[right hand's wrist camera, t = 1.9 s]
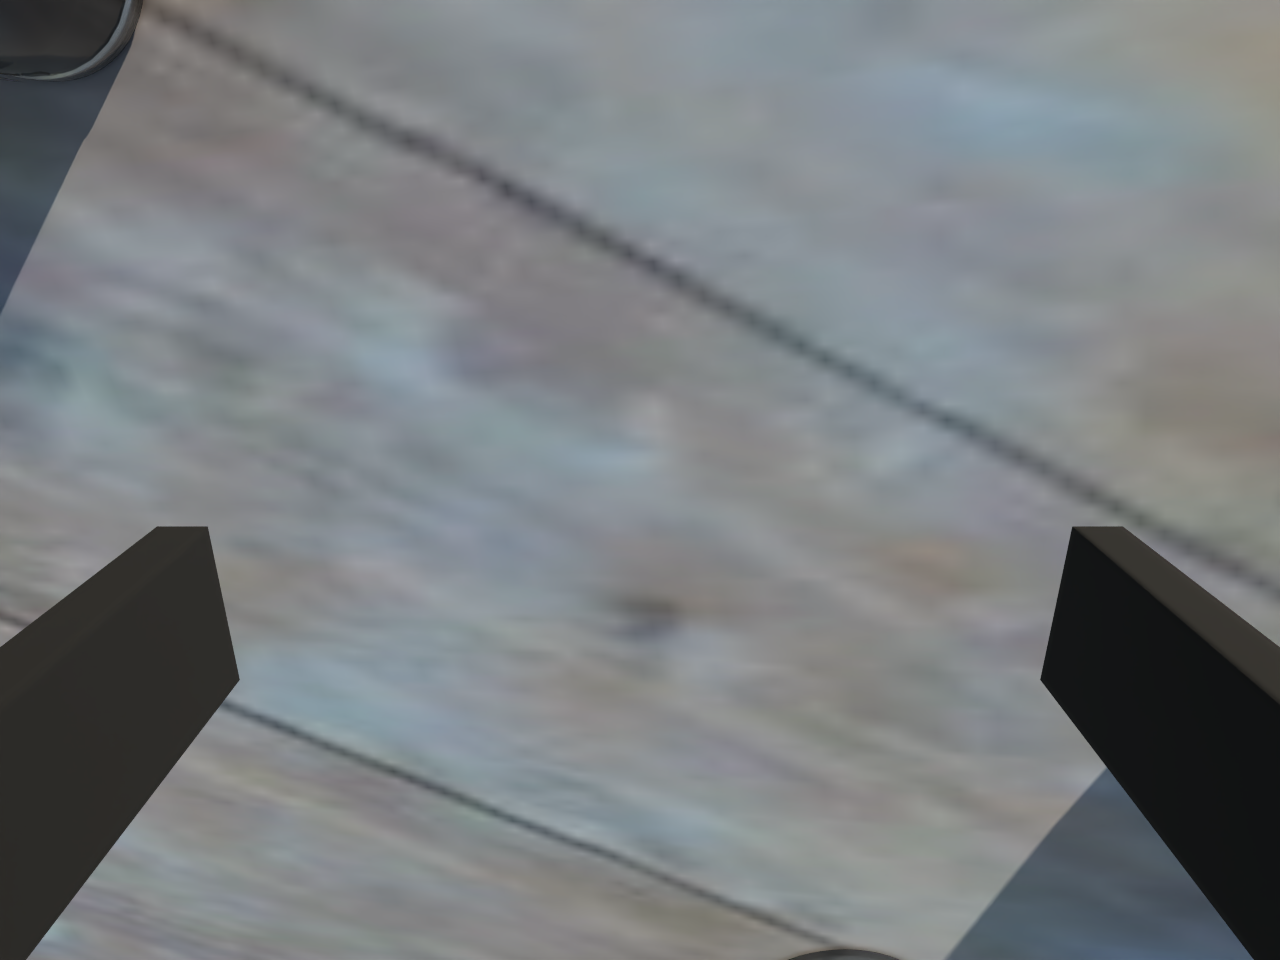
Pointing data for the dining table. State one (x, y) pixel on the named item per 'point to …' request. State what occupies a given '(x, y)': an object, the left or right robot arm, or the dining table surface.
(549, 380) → the dining table surface
